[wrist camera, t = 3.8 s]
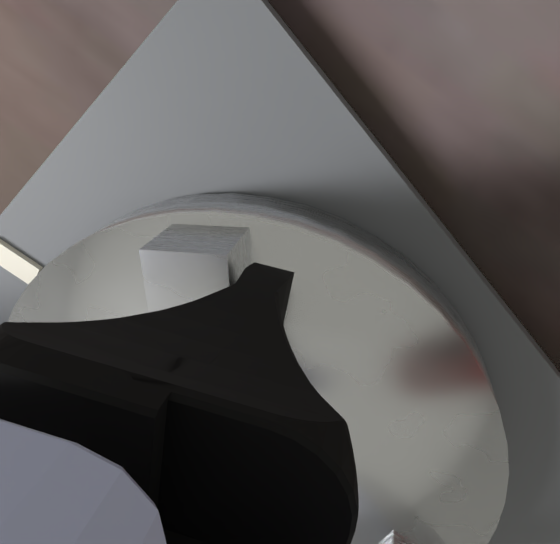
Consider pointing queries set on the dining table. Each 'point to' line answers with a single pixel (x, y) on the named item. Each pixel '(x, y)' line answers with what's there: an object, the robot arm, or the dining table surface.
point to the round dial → (321, 345)
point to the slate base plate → (282, 185)
